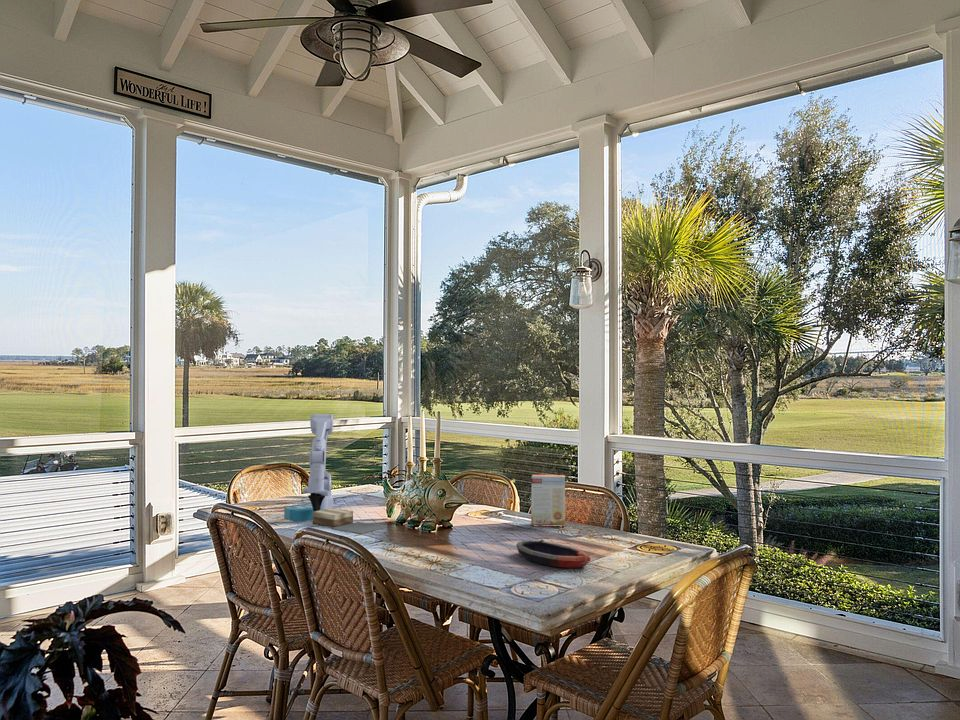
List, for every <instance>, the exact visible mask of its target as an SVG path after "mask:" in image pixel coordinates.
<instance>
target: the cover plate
mask: <svg viewBox="0 0 960 720" xmlns="http://www.w3.org/2000/svg"><path fill="white" fill-rule="evenodd" d="M351 516H353V517H354V511H353V510H348V509H341V508H334V507H333V508H329V509H324V510H319V511H314V512H313V517H318V518H324V519H330V520H337V519H342V518H346V517H351Z"/></svg>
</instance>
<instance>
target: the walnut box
mask: <svg viewBox="0 0 960 720" xmlns="http://www.w3.org/2000/svg"><path fill="white" fill-rule="evenodd" d="M350 523H354V515H353V516H351V517H346V518H342V519H337V520H330V519H324V518H318V517H313V520H312V525H317V526H321V527H329V528H333V527H338V526H342V525H346V524H350Z"/></svg>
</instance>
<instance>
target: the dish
mask: <svg viewBox="0 0 960 720" xmlns="http://www.w3.org/2000/svg"><path fill="white" fill-rule="evenodd" d="M515 546H516V548H517V551H518V553H519V555H521V557H523V558H525V559H526V560H529V561H530V562H533V563H537V564H540V565H543V566H549V567H554V568H560V569H561V568H563V569H576V568H577V569H578V568H583V567H586V566H587V564H588V563H589V562H591V557H590V556H589V555H588V554H587V553H586V552H584V550H581V549H578V548H575V547H571V546H568V545H564V544H558V543H554V542H550V541H549V542H548V541H544V540H543V539H540V540H520V541H518V542H517V543H516V545H515Z"/></svg>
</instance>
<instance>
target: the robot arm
mask: <svg viewBox="0 0 960 720" xmlns="http://www.w3.org/2000/svg"><path fill="white" fill-rule="evenodd" d="M309 421H310V422H309V425H310V431H311V434H312V435H313V434H314V435H315V438H313V439H312V441H311V450H310V451H309V453H308V455H309V456H308V458H309V459H308V461H309V462H308V463H309V469H310V471H309V476H308V481H307V487H304V488H302V494H309V495H307V497H308V499H309V500H310V505H312V507H313V511H319V510H320V508H321V510H324V509H329V508H334V497H333V495H332V475H331V474H330V473H329V472H328V471H327V470H326V466H327V465H326V460H327V441H328V437H329V435H331V434H333V430H334V415H333V413H311V415H310V420H309Z"/></svg>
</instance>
